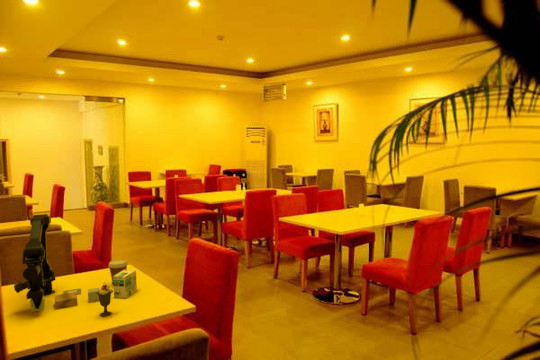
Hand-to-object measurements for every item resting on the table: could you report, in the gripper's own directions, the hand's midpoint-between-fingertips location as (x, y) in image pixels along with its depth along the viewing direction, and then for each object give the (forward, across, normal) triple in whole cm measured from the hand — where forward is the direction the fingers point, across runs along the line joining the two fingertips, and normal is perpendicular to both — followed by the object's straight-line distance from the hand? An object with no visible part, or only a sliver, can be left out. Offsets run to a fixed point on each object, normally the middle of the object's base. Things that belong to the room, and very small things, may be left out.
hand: (37, 306), depth 187 cm
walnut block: (+2, 0, +11) cm, 11 cm away
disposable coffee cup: (+1, -17, +36) cm, 40 cm away
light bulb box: (+1, 0, +38) cm, 38 cm away
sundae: (+1, +20, +27) cm, 34 cm away
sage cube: (+1, 0, 0) cm, 1 cm away
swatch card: (+1, -15, +14) cm, 20 cm away
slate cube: (+1, +1, +23) cm, 23 cm away
